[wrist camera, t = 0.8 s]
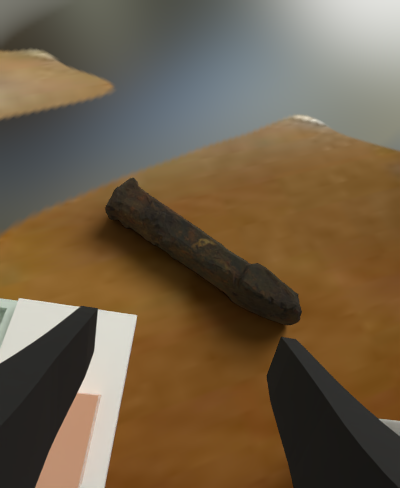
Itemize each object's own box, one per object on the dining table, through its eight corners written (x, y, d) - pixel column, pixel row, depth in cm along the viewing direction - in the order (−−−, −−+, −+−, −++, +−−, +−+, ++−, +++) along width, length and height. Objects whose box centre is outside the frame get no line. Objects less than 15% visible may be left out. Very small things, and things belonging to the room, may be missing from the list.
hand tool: (103, 221, 28) (99, 193, 24) (133, 194, 29) (133, 164, 25) (271, 351, 26) (298, 345, 22) (292, 314, 28) (320, 302, 24)
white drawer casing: (86, 580, 18) (79, 615, 15) (-64, 578, 16) (-101, 614, 14) (136, 322, 24) (137, 315, 22) (31, 308, 23) (19, 298, 20)
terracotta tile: (82, 482, 17) (76, 493, 15) (-3, 477, 16) (-19, 488, 15) (101, 394, 19) (98, 395, 17) (26, 386, 18) (15, 386, 17)
